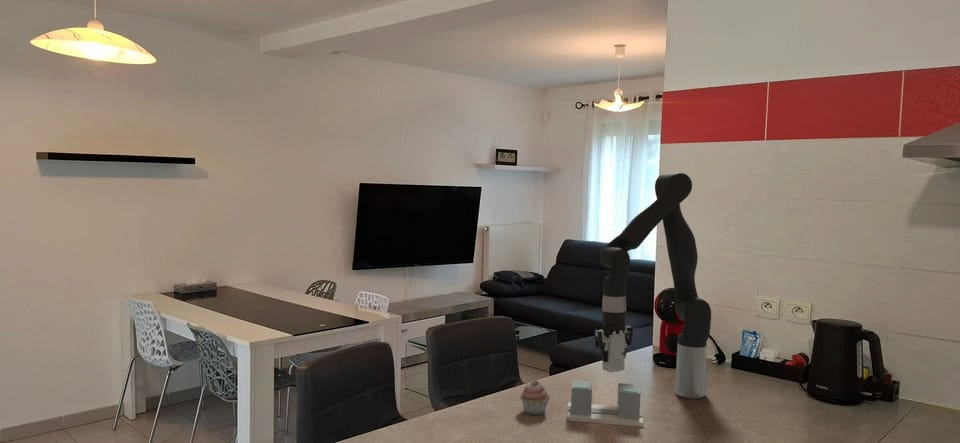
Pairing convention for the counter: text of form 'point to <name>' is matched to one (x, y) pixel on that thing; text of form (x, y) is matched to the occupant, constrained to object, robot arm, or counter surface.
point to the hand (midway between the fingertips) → (613, 359)
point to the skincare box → (615, 354)
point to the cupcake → (534, 398)
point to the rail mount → (618, 415)
